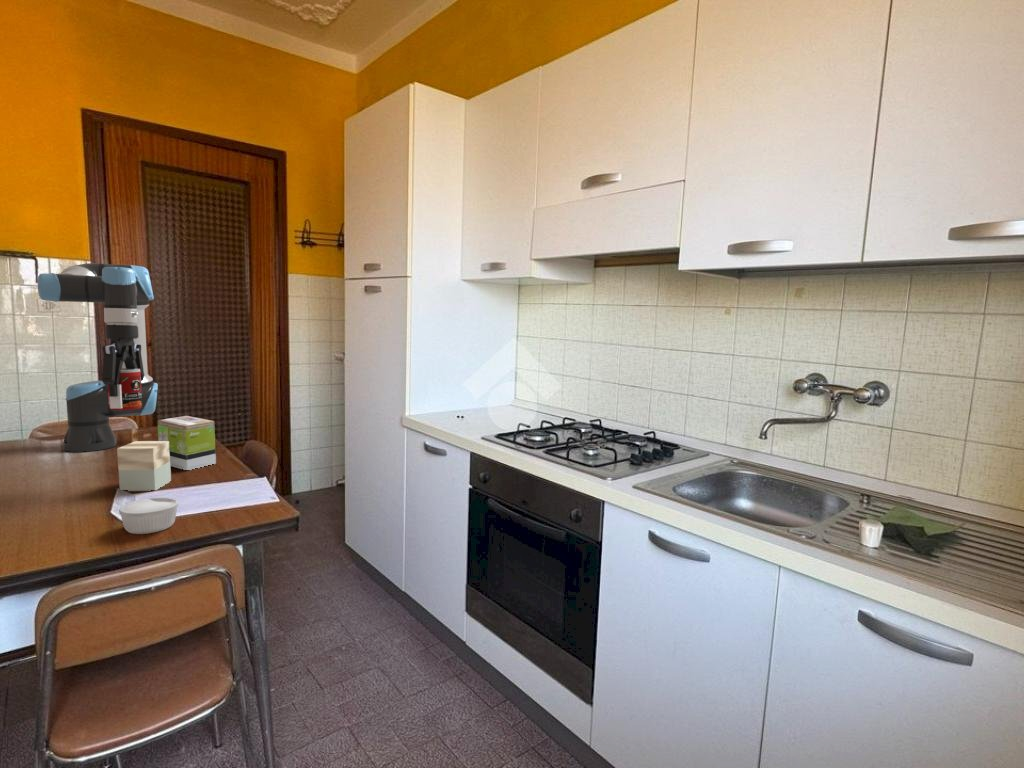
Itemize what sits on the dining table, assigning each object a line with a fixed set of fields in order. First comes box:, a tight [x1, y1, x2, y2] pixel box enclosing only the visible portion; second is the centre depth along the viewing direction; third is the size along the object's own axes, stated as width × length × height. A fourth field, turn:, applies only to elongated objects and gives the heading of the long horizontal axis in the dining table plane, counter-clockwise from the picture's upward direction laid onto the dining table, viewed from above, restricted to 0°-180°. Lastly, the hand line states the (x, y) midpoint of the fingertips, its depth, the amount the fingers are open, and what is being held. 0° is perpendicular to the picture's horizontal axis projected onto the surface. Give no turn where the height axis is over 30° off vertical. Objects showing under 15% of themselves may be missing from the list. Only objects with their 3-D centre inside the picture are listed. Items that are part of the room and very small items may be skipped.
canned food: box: [107, 368, 142, 410], centre depth 154 cm, size 8×8×11 cm
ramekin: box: [118, 497, 179, 535], centre depth 126 cm, size 11×11×5 cm
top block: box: [116, 440, 170, 471], centre depth 154 cm, size 9×9×6 cm
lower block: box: [118, 462, 172, 492], centre depth 155 cm, size 9×9×6 cm
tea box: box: [157, 415, 217, 471], centre depth 177 cm, size 15×10×15 cm
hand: (125, 405), depth 154 cm, fingers closed on canned food, 8 cm apart
